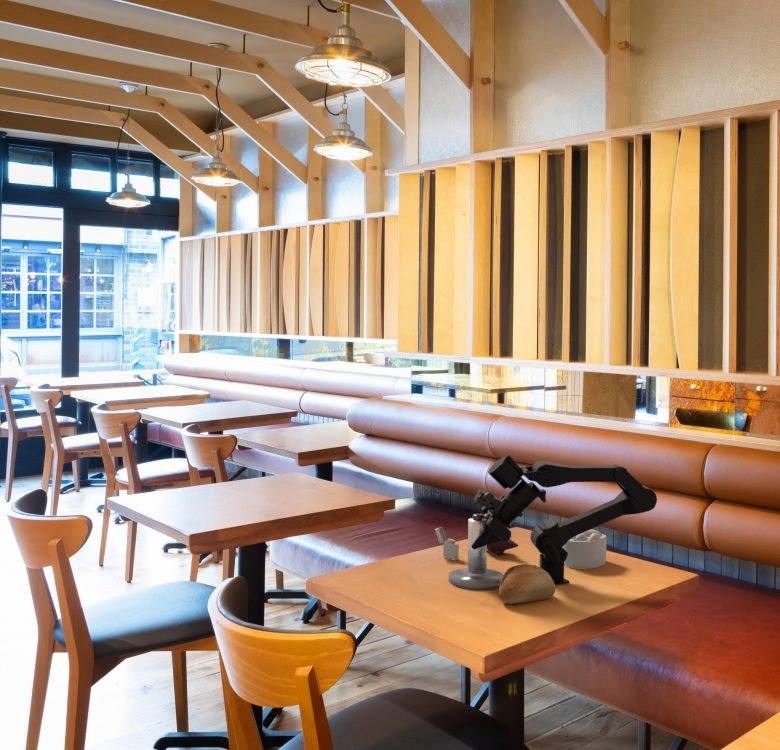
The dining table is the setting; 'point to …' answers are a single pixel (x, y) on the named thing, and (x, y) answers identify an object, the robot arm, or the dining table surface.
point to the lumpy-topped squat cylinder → (586, 550)
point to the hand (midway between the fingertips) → (471, 545)
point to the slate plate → (475, 579)
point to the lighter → (448, 545)
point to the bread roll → (525, 584)
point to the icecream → (501, 546)
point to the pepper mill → (479, 555)
